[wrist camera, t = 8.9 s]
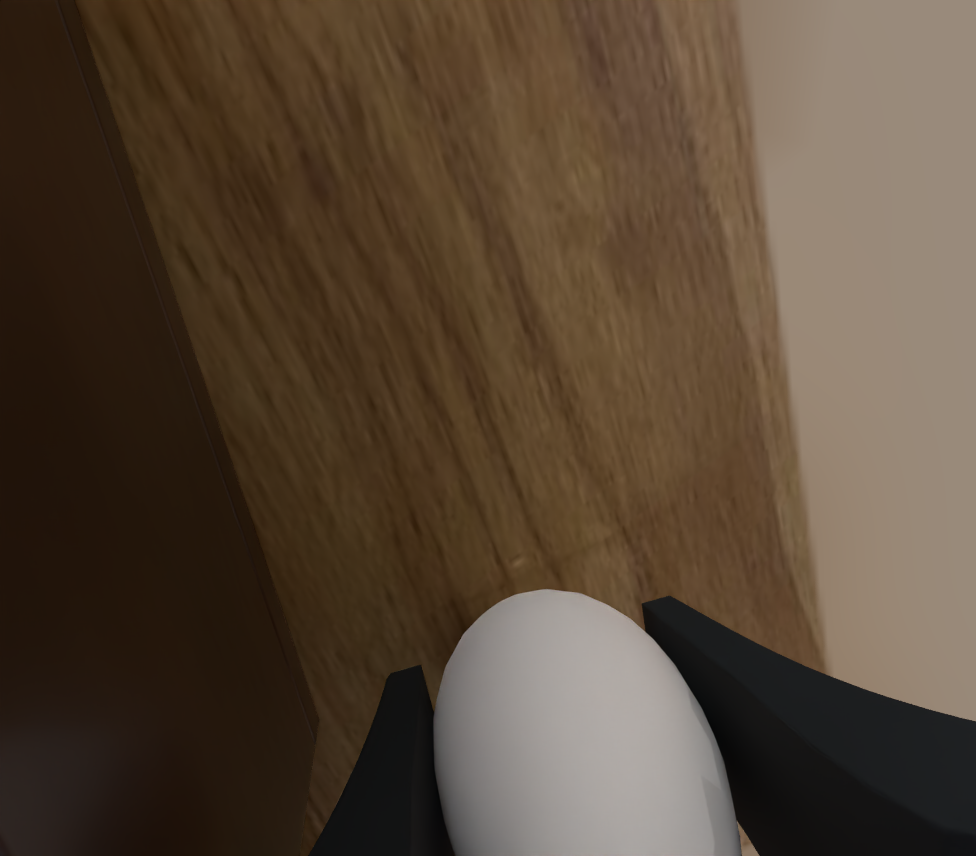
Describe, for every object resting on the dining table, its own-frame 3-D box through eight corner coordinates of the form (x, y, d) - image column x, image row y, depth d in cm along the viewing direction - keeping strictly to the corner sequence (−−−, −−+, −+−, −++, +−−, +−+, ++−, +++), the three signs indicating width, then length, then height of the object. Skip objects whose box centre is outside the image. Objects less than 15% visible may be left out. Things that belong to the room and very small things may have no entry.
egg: (378, 622, 13) (372, 1034, 6) (553, 496, 13) (751, 768, 6) (498, 752, 15) (605, 1210, 8) (656, 640, 14) (915, 996, 7)
